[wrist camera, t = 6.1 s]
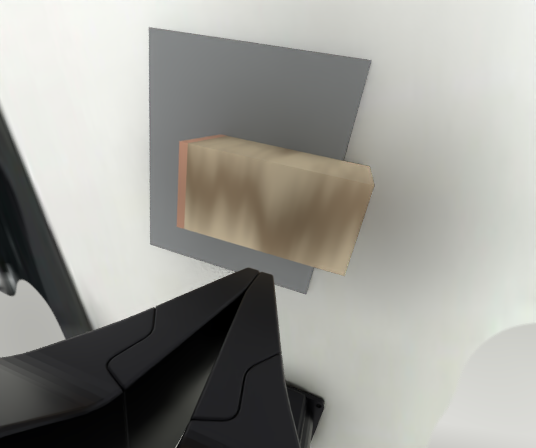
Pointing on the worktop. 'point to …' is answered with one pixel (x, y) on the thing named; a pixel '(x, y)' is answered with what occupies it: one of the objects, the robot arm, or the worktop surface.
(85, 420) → the robot arm
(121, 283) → the worktop surface
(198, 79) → the mat
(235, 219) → the pine block
